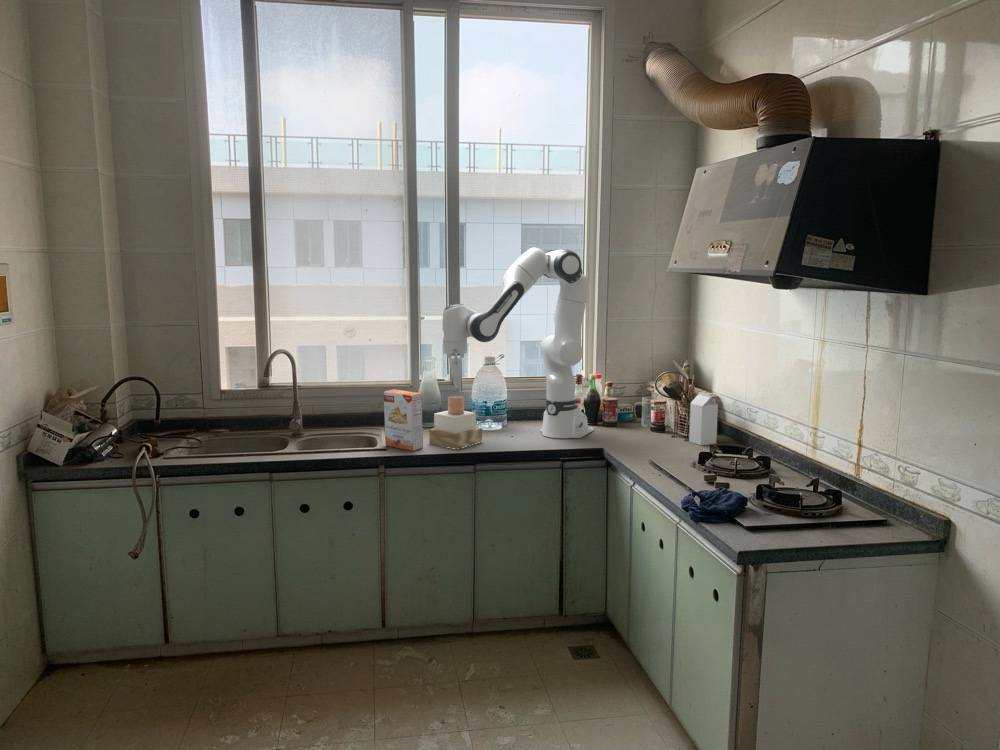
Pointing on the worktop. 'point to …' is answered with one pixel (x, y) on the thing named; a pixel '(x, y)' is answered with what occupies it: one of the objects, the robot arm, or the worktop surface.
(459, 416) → the tower top
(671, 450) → the worktop surface
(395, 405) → the cracker box
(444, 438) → the tower base
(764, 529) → the worktop surface
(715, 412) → the milk carton
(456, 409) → the pink cylinder
